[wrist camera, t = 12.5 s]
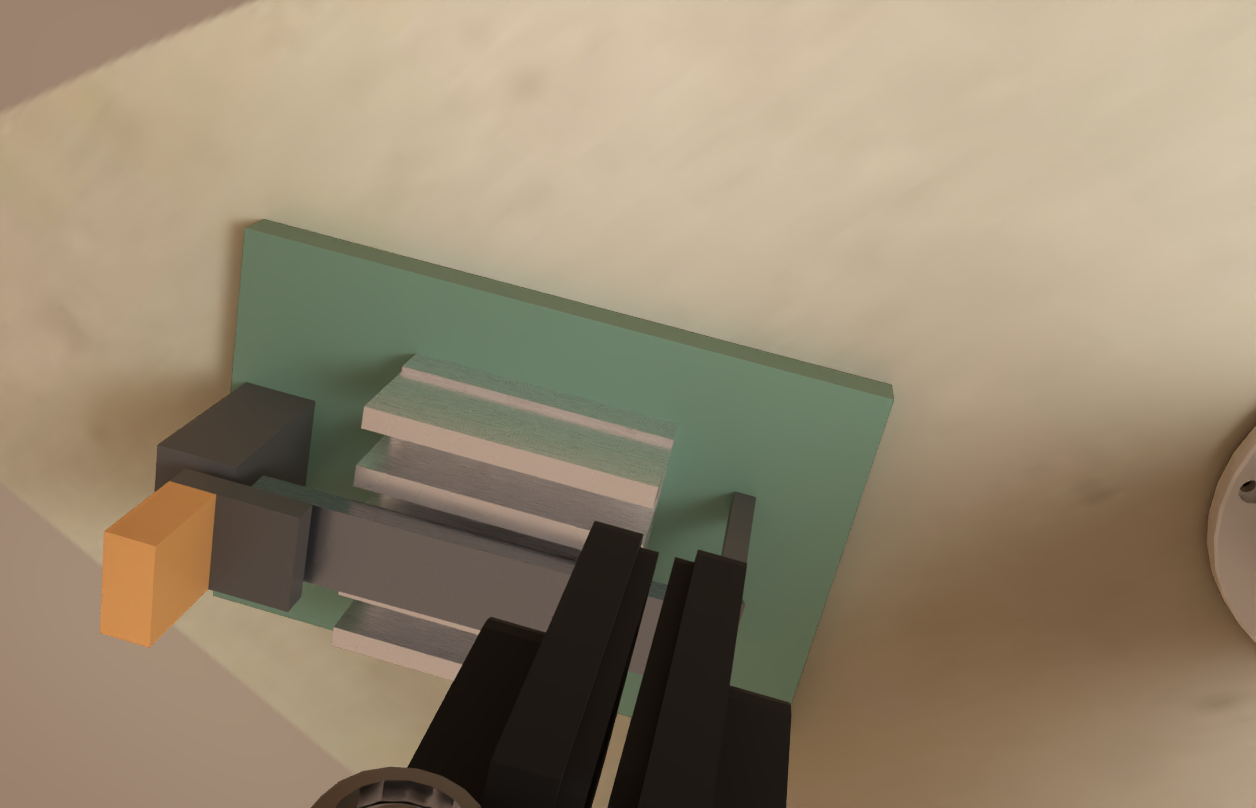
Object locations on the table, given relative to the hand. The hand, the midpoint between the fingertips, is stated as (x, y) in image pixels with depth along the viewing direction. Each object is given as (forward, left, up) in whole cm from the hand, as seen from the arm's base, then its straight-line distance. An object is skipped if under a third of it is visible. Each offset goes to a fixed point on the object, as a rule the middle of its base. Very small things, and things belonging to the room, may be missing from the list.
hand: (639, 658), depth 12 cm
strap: (+6, +14, -23) cm, 27 cm away
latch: (+14, +14, -21) cm, 29 cm away
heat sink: (+6, +14, -28) cm, 32 cm away
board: (+6, +14, -29) cm, 33 cm away
